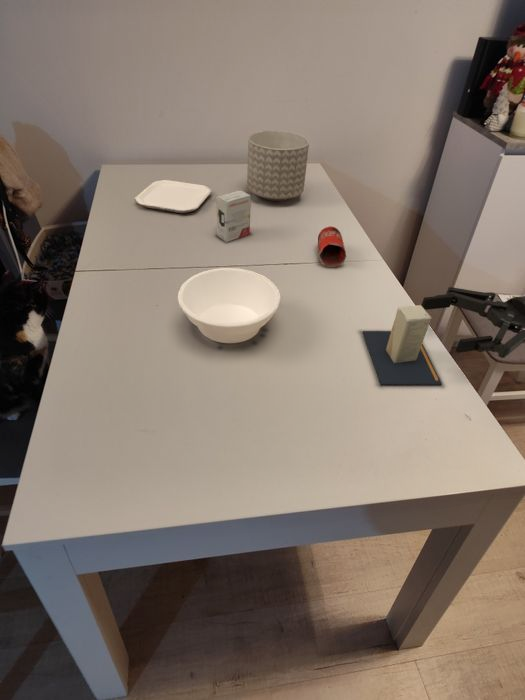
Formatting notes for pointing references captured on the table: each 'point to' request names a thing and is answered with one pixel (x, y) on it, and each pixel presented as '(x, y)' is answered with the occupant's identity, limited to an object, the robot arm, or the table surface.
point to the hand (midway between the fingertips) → (439, 323)
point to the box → (408, 333)
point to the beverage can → (331, 247)
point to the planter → (277, 164)
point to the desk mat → (402, 372)
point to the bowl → (229, 303)
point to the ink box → (233, 215)
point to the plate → (173, 196)
